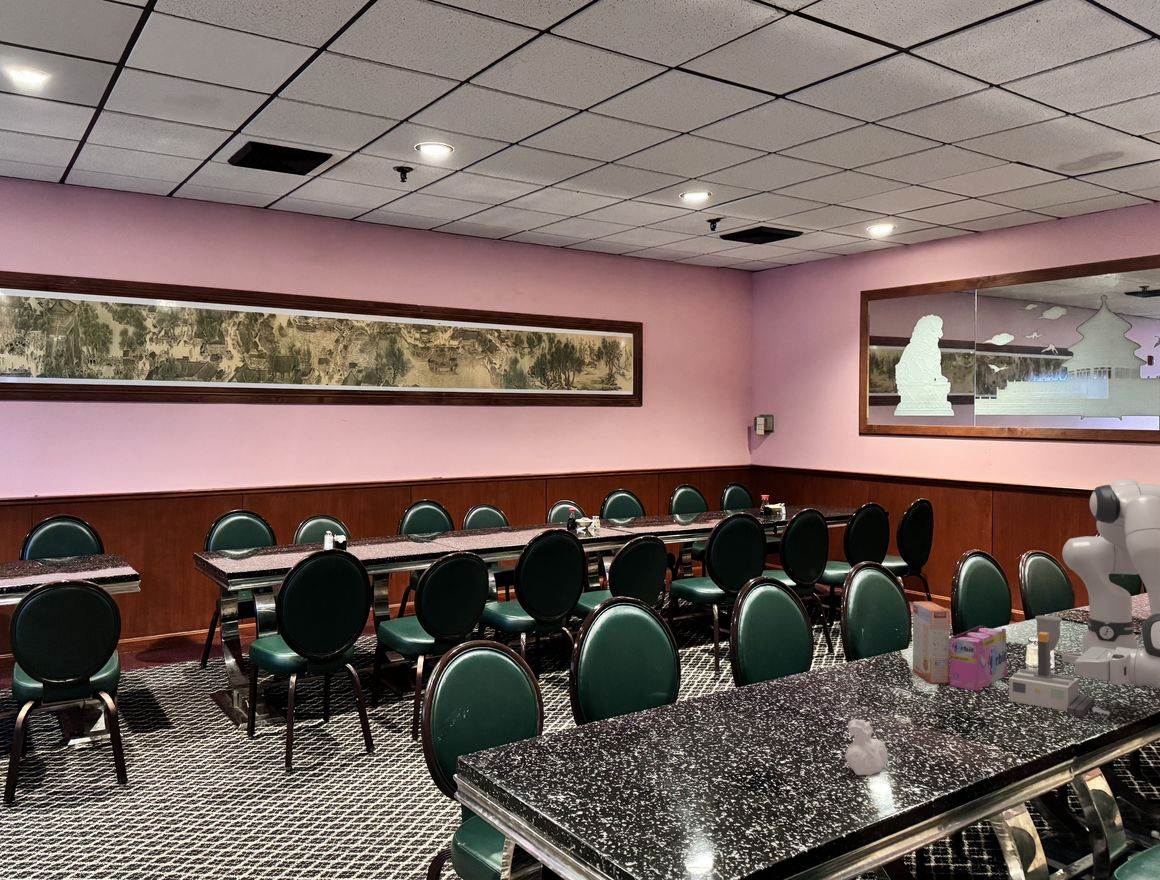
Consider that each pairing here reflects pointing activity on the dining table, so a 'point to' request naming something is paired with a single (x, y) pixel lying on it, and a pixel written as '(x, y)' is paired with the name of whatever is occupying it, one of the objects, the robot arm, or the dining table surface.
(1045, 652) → the breaker lever
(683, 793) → the dining table surface
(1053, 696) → the box
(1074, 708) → the dark grey grooved bar
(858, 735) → the bust
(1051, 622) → the chalice
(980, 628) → the gum box
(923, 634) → the cracker box
